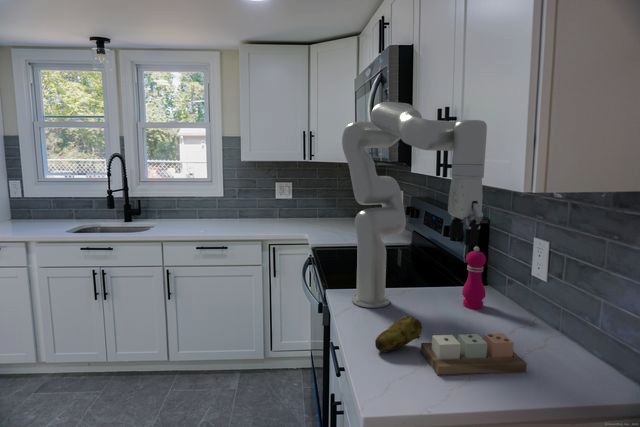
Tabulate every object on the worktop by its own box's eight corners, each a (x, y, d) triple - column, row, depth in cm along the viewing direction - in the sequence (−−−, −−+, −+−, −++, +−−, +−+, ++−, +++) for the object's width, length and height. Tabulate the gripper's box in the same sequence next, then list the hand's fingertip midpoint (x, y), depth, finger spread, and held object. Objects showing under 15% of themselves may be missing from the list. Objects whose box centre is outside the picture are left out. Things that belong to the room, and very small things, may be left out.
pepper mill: (481, 302, 143) (485, 244, 140) (487, 310, 136) (491, 249, 133) (459, 301, 144) (462, 243, 141) (464, 309, 137) (467, 248, 134)
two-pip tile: (457, 350, 105) (458, 333, 104) (476, 349, 105) (477, 333, 105) (465, 359, 100) (466, 343, 99) (486, 359, 101) (487, 342, 100)
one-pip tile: (431, 350, 104) (432, 334, 104) (451, 350, 105) (452, 334, 104) (438, 360, 100) (439, 343, 99) (459, 360, 100) (460, 343, 99)
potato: (369, 342, 113) (369, 313, 111) (415, 339, 114) (416, 311, 113) (377, 357, 104) (378, 326, 103) (427, 354, 106) (429, 323, 105)
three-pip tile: (482, 349, 106) (483, 333, 105) (501, 348, 106) (502, 332, 105) (492, 358, 101) (493, 342, 100) (512, 358, 101) (513, 341, 100)
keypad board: (420, 350, 108) (421, 342, 108) (499, 348, 110) (500, 340, 110) (437, 375, 96) (438, 366, 96) (526, 372, 98) (526, 363, 98)
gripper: (439, 169, 112) (436, 234, 115) (467, 173, 95) (463, 249, 98) (467, 170, 113) (463, 234, 116) (500, 173, 96) (494, 249, 98)
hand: (463, 241), depth 107 cm, fingers open, 8 cm apart
